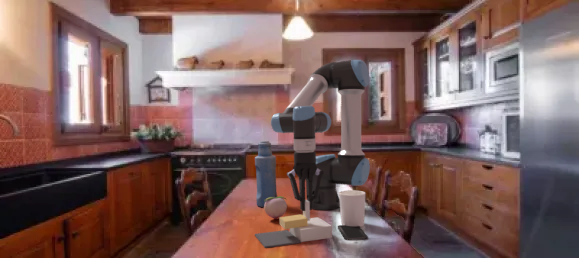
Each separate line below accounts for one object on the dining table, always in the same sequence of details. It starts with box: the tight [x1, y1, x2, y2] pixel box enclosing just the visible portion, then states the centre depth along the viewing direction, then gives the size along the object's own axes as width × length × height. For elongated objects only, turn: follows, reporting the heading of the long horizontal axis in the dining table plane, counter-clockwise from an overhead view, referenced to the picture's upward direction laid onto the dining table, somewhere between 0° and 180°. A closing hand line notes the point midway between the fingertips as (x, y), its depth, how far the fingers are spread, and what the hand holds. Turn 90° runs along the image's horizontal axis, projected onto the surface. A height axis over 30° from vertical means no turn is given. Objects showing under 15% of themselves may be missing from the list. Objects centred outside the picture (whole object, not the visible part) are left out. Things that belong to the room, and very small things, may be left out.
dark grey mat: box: [254, 229, 302, 249], centre depth 129 cm, size 12×14×1 cm
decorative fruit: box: [263, 194, 288, 220], centre depth 154 cm, size 9×8×10 cm
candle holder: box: [338, 189, 366, 228], centre depth 143 cm, size 10×10×12 cm
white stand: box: [289, 217, 333, 243], centre depth 133 cm, size 11×12×4 cm
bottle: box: [254, 140, 278, 208], centre depth 179 cm, size 10×10×30 cm
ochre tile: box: [278, 214, 308, 230], centre depth 131 cm, size 8×6×2 cm
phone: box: [337, 224, 369, 241], centre depth 133 cm, size 8×1×15 cm
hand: (306, 219), depth 132 cm, fingers closed
